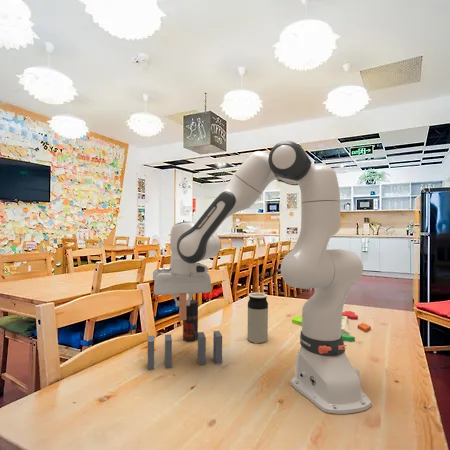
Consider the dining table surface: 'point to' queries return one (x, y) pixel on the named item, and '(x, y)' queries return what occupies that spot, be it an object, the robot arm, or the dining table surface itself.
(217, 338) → the domino
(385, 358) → the dining table surface
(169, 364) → the domino
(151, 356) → the domino
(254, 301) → the travel mug
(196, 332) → the deodorant
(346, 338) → the pattern blocks set
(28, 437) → the dining table surface
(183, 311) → the domino
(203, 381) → the dining table surface
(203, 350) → the domino
